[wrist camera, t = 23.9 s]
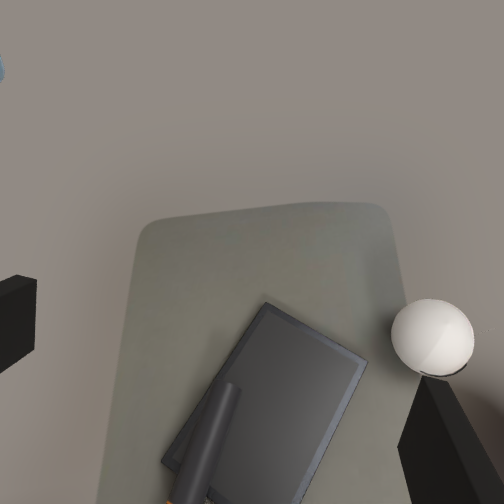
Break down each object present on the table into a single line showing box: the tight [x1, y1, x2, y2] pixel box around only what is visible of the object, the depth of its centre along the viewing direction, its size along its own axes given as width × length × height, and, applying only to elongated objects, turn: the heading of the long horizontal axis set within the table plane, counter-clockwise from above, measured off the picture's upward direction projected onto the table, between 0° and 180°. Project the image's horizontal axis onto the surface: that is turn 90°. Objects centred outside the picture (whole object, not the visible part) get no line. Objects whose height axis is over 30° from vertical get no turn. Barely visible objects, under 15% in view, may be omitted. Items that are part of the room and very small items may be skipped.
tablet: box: [161, 302, 368, 504], centre depth 38 cm, size 12×18×1 cm, turn 148°
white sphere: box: [391, 299, 474, 377], centre depth 39 cm, size 10×7×7 cm
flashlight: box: [166, 379, 242, 504], centre depth 34 cm, size 3×3×12 cm
